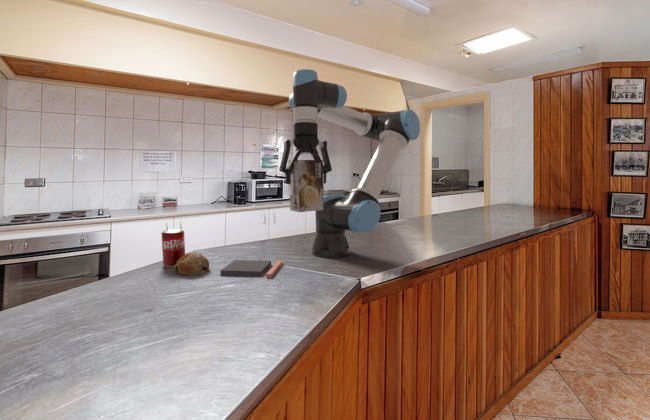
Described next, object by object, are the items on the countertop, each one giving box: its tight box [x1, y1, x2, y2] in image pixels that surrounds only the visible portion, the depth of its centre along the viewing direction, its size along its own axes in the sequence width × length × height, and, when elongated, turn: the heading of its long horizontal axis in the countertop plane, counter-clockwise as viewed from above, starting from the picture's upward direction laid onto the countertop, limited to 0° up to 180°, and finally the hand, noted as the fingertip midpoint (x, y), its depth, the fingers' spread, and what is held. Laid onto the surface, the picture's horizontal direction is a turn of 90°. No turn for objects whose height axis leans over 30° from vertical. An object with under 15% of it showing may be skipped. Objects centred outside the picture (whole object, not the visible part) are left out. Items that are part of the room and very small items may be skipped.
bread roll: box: [173, 252, 210, 276], centre depth 115 cm, size 10×10×8 cm
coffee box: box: [288, 159, 324, 213], centre depth 112 cm, size 9×6×16 cm
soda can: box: [160, 228, 186, 268], centre depth 123 cm, size 7×7×12 cm
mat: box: [220, 259, 272, 277], centre depth 117 cm, size 13×13×2 cm
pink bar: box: [265, 260, 283, 279], centre depth 116 cm, size 2×16×1 cm, turn 175°
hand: (306, 194), depth 113 cm, fingers closed on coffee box, 10 cm apart
